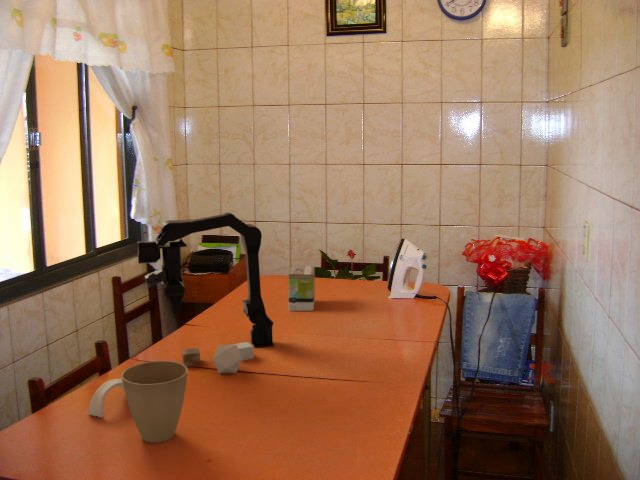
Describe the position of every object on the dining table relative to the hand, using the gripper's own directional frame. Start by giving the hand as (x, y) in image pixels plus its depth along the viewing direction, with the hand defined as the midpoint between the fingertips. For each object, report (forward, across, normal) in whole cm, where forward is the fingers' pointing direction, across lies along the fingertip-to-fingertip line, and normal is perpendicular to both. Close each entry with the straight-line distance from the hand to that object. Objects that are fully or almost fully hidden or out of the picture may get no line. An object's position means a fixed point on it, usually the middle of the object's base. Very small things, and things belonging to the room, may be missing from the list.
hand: (174, 309), depth 219 cm
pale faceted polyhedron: (+14, +21, +14) cm, 29 cm away
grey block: (+14, +10, +20) cm, 26 cm away
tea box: (+15, -44, +50) cm, 68 cm away
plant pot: (+14, +59, -7) cm, 61 cm away
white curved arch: (+15, +35, -14) cm, 40 cm away
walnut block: (+14, +11, +4) cm, 18 cm away
